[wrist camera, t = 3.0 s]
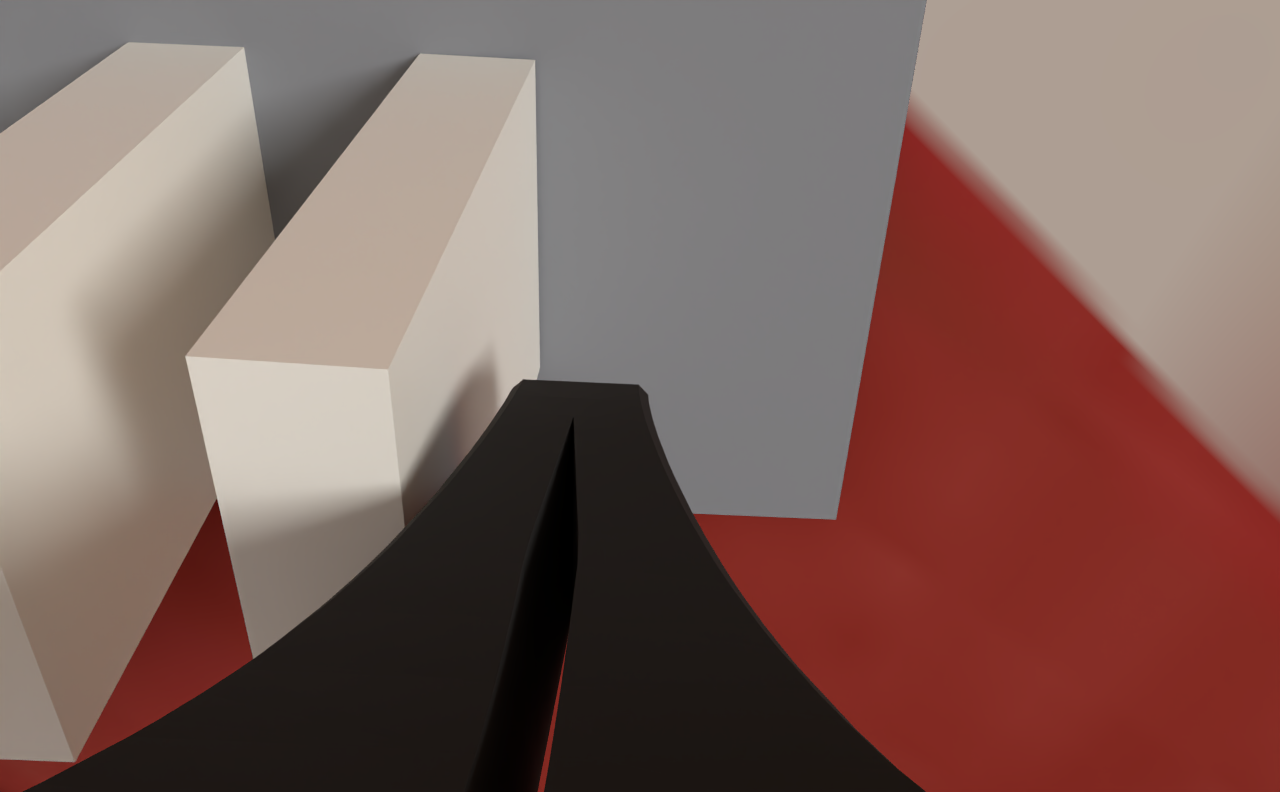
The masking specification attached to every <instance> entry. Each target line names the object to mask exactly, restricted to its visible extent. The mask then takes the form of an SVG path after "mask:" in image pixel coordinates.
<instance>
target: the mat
mask: <svg viewBox="0 0 1280 792" xmlns="http://www.w3.org/2000/svg"><path fill="white" fill-rule="evenodd" d="M926 1H927V0H0V133H1V132H3V131H4V130H6V129H7V128H8V127H10V126H11V125H13V124H14V123H15V122H17V121H18V120H20V119H21V118H22V117H24V116H25V115H27V114H28V113H29V112H31V111H32V110H34V109H35V108H37V107H38V106H39V105H41V104H42V103H44V102H45V101H46V100H48V99H49V98H51V97H52V96H53V95H55V94H56V93H58V92H59V91H60V90H62V89H63V88H65V87H66V86H67V85H69V84H70V83H72V82H73V81H74V80H76V79H77V78H79V77H80V76H81V75H83V74H84V73H86V72H87V71H88V70H90V69H91V68H93V67H94V66H95V65H97V64H98V63H100V62H101V61H102V60H104V59H105V58H107V57H108V56H109V55H111V54H112V53H114V52H115V51H116V50H118V49H119V48H121V47H122V46H123V45H125V44H126V43H128V42H135V43H158V44H182V45H205V46H228V47H244V50H245V56H246V63H247V69H248V75H249V81H250V88H251V94H252V100H253V106H254V112H255V119H256V125H257V131H258V137H259V144H260V150H261V156H262V162H263V168H264V175H265V181H266V187H267V193H268V200H269V206H270V212H271V218H272V224H273V231H274V237H275V240H276V238H277V237H278V236H279V235H280V233H281V232H282V231H283V229H284V228H285V227H286V226H287V224H288V223H289V222H290V220H291V219H292V218H293V217H294V215H295V214H296V213H297V211H298V210H299V209H300V208H301V206H302V205H303V204H304V202H305V201H306V200H307V198H308V197H309V196H310V195H311V193H312V192H313V191H314V189H315V188H316V187H317V186H318V184H319V183H320V182H321V180H322V179H323V178H324V177H325V175H326V174H327V173H328V171H329V170H330V169H331V168H332V166H333V165H334V164H335V162H336V161H337V160H338V158H339V157H340V156H341V155H342V153H343V152H344V151H345V149H346V148H347V147H348V146H349V144H350V143H351V142H352V140H353V139H354V138H355V137H356V135H357V134H358V133H359V131H360V130H361V129H362V128H363V126H364V125H365V124H366V122H367V121H368V120H369V118H370V117H371V116H372V115H373V113H374V112H375V111H376V109H377V108H378V107H379V106H380V104H381V103H382V102H383V100H384V99H385V98H386V97H387V95H388V94H389V93H390V91H391V90H392V89H393V88H394V86H395V85H396V84H397V82H398V81H399V80H400V78H401V77H402V76H403V75H404V73H405V72H406V71H407V69H408V68H409V67H410V66H411V64H412V63H413V62H414V60H415V59H416V58H417V57H418V55H419V54H420V53H421V54H439V55H456V56H474V57H492V58H510V59H528V60H535V83H536V145H537V207H538V269H539V331H540V369H539V373H538V377H537V380H549V381H572V382H595V383H617V384H639V385H640V387H641V388H642V389H643V390H644V391H645V392H646V393H647V394H648V397H649V405H650V410H651V414H652V418H653V421H654V425H655V428H656V431H657V434H658V437H659V440H660V442H661V445H662V447H663V450H664V453H665V455H666V458H667V460H668V463H669V465H670V467H671V469H672V472H673V474H674V476H675V478H676V480H677V482H678V484H679V486H680V489H681V491H682V493H683V495H684V497H685V499H686V501H687V503H688V505H689V507H690V509H691V511H692V513H694V514H718V515H742V516H765V517H789V518H813V519H836V516H837V511H838V505H839V499H840V494H841V488H842V482H843V476H844V471H845V465H846V459H847V453H848V448H849V442H850V436H851V431H852V425H853V419H854V413H855V408H856V402H857V396H858V390H859V385H860V379H861V373H862V368H863V362H864V356H865V350H866V345H867V339H868V333H869V327H870V322H871V316H872V310H873V305H874V299H875V293H876V287H877V282H878V276H879V270H880V264H881V259H882V253H883V247H884V242H885V236H886V230H887V224H888V219H889V213H890V207H891V201H892V196H893V190H894V184H895V179H896V173H897V167H898V161H899V156H900V150H901V144H902V139H903V133H904V127H905V121H906V116H907V110H908V104H909V98H910V93H911V87H912V81H913V75H914V70H915V64H916V58H917V52H918V47H919V41H920V35H921V30H922V24H923V18H924V13H925V7H926Z"/></svg>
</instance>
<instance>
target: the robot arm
mask: <svg viewBox="0 0 1280 792" xmlns="http://www.w3.org/2000/svg"><path fill="white" fill-rule="evenodd" d="M567 639H568V641H567ZM566 644H567V648H566ZM565 649H566V656H565V663H564V670H563V677H562V684H561V691H560V697H559V704H558V710H557V717H556V723H555V729H554V736H553V742H552V749H551V755H550V761H549V767H548V773H547V778H546V784H545V790H544V792H925V791H924V790H923V789H922V788H921V787H919V786H918V785H917V784H916V783H914V782H913V781H912V780H911V779H909V778H908V777H907V776H906V775H904V774H903V773H902V772H901V771H899V770H898V769H897V768H896V767H895V766H894V765H893V764H892V763H891V762H890V761H889V760H888V759H887V758H886V757H885V756H884V755H882V754H881V753H880V752H879V751H878V750H877V749H876V748H875V747H874V746H873V745H872V744H871V743H870V742H869V741H868V740H867V739H866V738H864V737H863V736H862V735H861V734H860V733H859V732H858V731H857V730H856V729H855V728H854V727H853V726H852V725H851V724H850V723H849V721H848V720H847V719H846V718H845V717H844V716H843V715H842V714H841V713H840V712H839V711H838V710H837V709H836V707H835V706H834V705H833V704H832V703H831V702H830V701H829V700H828V699H827V698H826V697H825V696H824V695H823V693H822V692H821V691H820V690H819V689H818V688H817V687H816V686H815V685H814V684H813V683H812V682H811V681H810V680H809V678H808V677H807V676H806V675H805V674H804V673H803V672H802V671H801V670H800V669H799V668H798V667H797V665H796V664H795V663H794V662H793V661H792V659H791V658H790V657H789V656H788V654H787V653H786V652H785V651H784V649H783V648H782V647H781V646H780V644H779V643H778V642H777V641H776V639H775V638H774V637H773V636H772V634H771V633H770V632H769V631H768V629H767V628H766V627H765V626H764V624H763V623H762V622H761V620H760V619H759V617H758V616H757V615H756V613H755V612H754V611H753V609H752V608H751V606H750V605H749V604H748V602H747V601H746V600H745V598H744V597H743V595H742V594H741V592H740V591H739V590H738V588H737V587H736V585H735V584H734V582H733V581H732V579H731V578H730V576H729V574H728V573H727V571H726V570H725V568H724V567H723V565H722V563H721V562H720V560H719V558H718V557H717V555H716V553H715V552H714V550H713V548H712V547H711V545H710V543H709V542H708V540H707V538H706V537H705V535H704V533H703V531H702V530H701V528H700V526H699V524H698V522H697V520H696V519H695V517H694V515H693V513H692V511H691V509H690V507H689V505H688V503H687V501H686V499H685V497H684V495H683V493H682V491H681V489H680V486H679V484H678V482H677V480H676V478H675V476H674V474H673V472H672V469H671V467H670V465H669V463H668V460H667V458H666V455H665V453H664V450H663V447H662V445H661V442H660V440H659V437H658V434H657V431H656V428H655V425H654V421H653V418H652V414H651V410H650V405H649V397H648V394H647V393H646V392H645V391H644V390H643V389H642V388H641V387H640V385H639V384H617V383H595V382H572V381H549V380H527V379H523V380H522V381H520V382H519V383H518V384H517V385H516V386H514V387H513V388H512V390H511V391H510V393H509V395H508V397H507V398H506V400H505V402H504V403H503V405H502V406H501V408H500V409H499V411H498V412H497V414H496V415H495V417H494V418H493V420H492V421H491V423H490V424H489V426H488V427H487V428H486V430H485V431H484V432H483V434H482V435H481V437H480V438H479V439H478V441H477V442H476V443H475V445H474V446H473V447H472V449H471V450H470V451H469V453H468V454H467V455H466V456H465V458H464V459H463V460H462V461H461V463H460V464H459V465H458V466H457V468H456V469H455V470H454V471H453V473H452V474H451V475H450V476H449V478H448V479H447V480H446V481H445V483H444V484H443V485H442V486H441V488H440V489H439V490H438V491H437V492H436V493H435V495H434V496H433V497H432V498H431V499H430V500H429V502H428V503H427V504H426V505H425V506H424V507H423V508H422V509H421V510H420V511H419V512H418V513H417V514H416V516H415V517H414V518H413V519H412V520H411V521H410V522H409V523H408V524H407V525H406V526H405V527H404V528H403V530H402V531H401V532H400V533H399V534H398V535H397V536H396V537H395V538H394V539H393V540H392V541H391V542H390V543H389V545H388V546H387V547H386V548H385V549H384V550H382V551H381V552H380V553H379V554H378V555H377V556H376V557H375V558H374V559H373V560H372V561H371V562H370V563H369V564H368V565H367V566H366V567H365V568H364V569H363V570H362V571H361V572H360V573H359V574H357V575H356V576H355V577H354V578H353V579H352V580H351V581H350V582H349V583H347V584H346V585H345V586H344V587H343V588H342V589H341V590H340V591H338V592H337V593H336V594H335V595H334V596H333V597H332V598H330V599H329V600H328V601H327V602H326V603H325V604H323V605H322V606H321V607H320V608H319V609H317V610H316V611H315V612H314V613H312V614H311V615H310V616H309V617H307V618H306V619H305V620H303V621H302V622H301V623H300V624H298V625H297V626H296V627H295V628H293V629H292V630H291V631H290V632H288V633H287V634H286V635H285V636H283V637H282V638H281V639H279V640H278V641H277V642H276V643H274V644H273V645H272V646H270V647H269V648H268V649H266V650H265V651H264V652H262V653H261V654H259V655H258V656H257V657H255V658H254V659H253V660H251V661H250V662H248V663H247V664H246V665H244V666H243V667H241V668H240V669H238V670H237V671H235V672H234V673H232V674H231V675H229V676H228V677H226V678H225V679H223V680H222V681H220V682H218V683H217V684H215V685H214V686H212V687H211V688H209V689H208V690H206V691H205V692H203V693H202V694H200V695H198V696H197V697H195V698H193V699H192V700H190V701H189V702H187V703H185V704H184V705H182V706H180V707H179V708H177V709H175V710H174V711H172V712H170V713H169V714H167V715H166V716H164V717H162V718H161V719H159V720H157V721H155V722H154V723H152V724H150V725H149V726H147V727H145V728H143V729H142V730H140V731H138V732H136V733H135V734H133V735H131V736H129V737H127V738H126V739H124V740H122V741H120V742H118V743H116V744H114V745H112V746H110V747H108V748H107V749H105V750H103V751H101V752H99V753H97V754H95V755H93V756H91V757H89V758H87V759H86V760H84V761H82V762H80V763H78V764H76V765H74V766H72V767H70V768H68V769H67V770H65V771H63V772H61V773H59V774H57V775H55V776H53V777H51V778H49V779H47V780H46V781H44V782H42V783H40V784H38V785H36V786H34V787H32V788H30V789H27V790H25V791H23V792H537V791H538V786H539V781H540V776H541V771H542V766H543V761H544V756H545V751H546V746H547V741H548V735H549V730H550V725H551V720H552V715H553V710H554V705H555V700H556V695H557V690H558V685H559V680H560V675H561V670H562V664H563V659H564V654H565Z"/></svg>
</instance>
